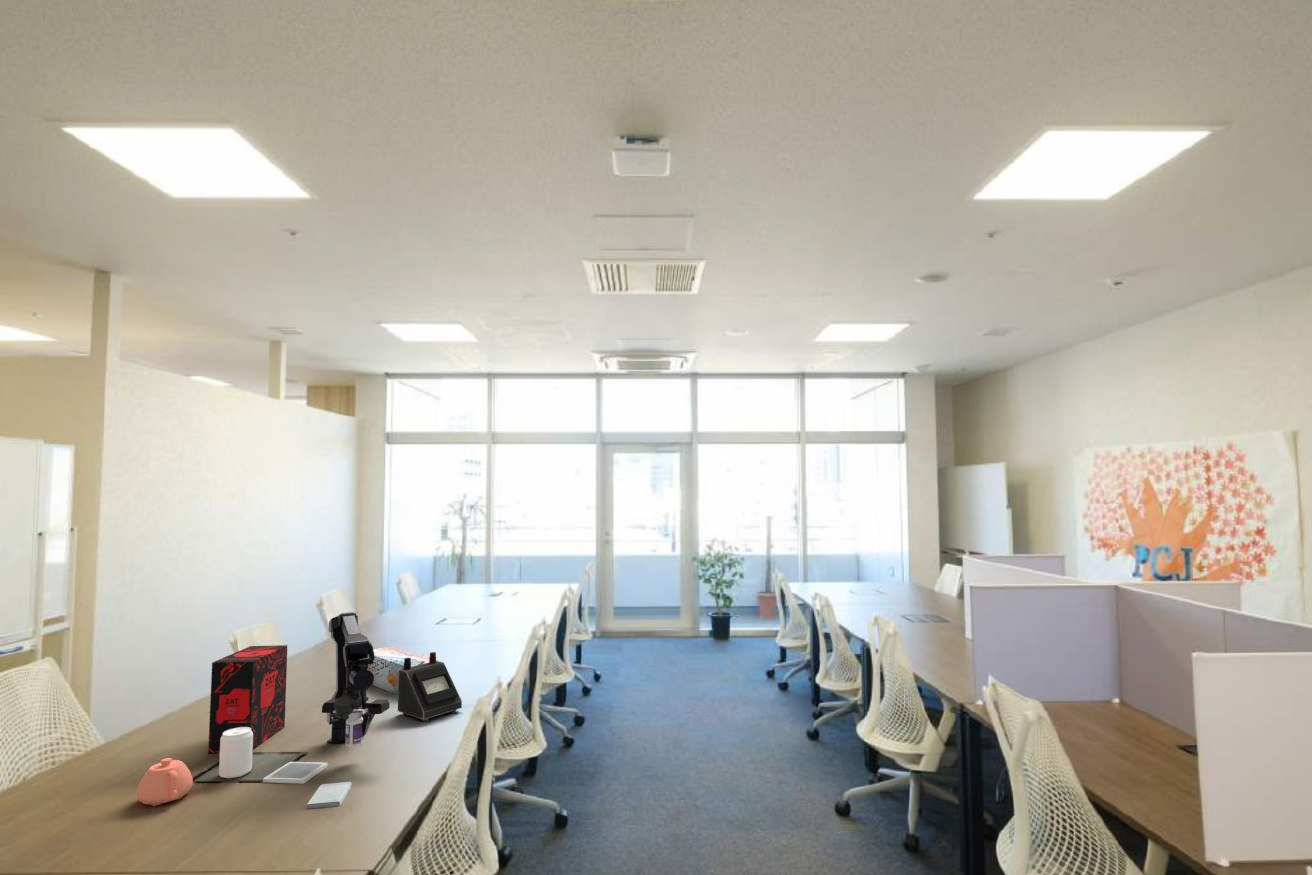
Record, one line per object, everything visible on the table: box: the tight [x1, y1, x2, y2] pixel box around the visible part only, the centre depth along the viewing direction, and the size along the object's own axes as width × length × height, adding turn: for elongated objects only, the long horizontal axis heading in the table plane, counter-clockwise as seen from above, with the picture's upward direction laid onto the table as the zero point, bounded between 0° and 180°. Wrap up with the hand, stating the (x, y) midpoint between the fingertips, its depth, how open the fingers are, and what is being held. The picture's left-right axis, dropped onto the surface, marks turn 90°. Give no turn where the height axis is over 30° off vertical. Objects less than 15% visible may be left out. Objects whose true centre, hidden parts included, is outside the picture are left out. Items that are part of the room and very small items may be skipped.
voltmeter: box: [397, 651, 463, 723], centre depth 250 cm, size 16×16×20 cm
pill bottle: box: [344, 709, 366, 748], centre depth 205 cm, size 5×5×10 cm
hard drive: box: [305, 781, 353, 809], centre depth 181 cm, size 2×8×12 cm
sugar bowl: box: [135, 757, 194, 807], centre depth 181 cm, size 12×14×10 cm
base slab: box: [262, 761, 329, 785], centre depth 196 cm, size 12×12×1 cm
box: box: [207, 644, 288, 755], centre depth 225 cm, size 23×12×28 cm, turn 4°
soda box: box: [360, 646, 429, 696], centre depth 286 cm, size 41×14×13 cm, turn 50°
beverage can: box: [218, 727, 253, 779], centre depth 197 cm, size 8×8×12 cm
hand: (355, 735), depth 205 cm, fingers closed on pill bottle, 5 cm apart
